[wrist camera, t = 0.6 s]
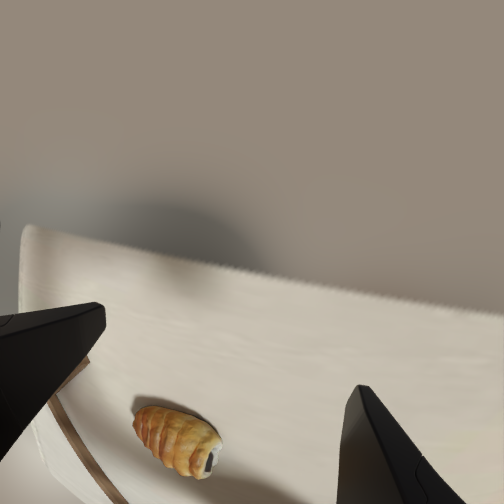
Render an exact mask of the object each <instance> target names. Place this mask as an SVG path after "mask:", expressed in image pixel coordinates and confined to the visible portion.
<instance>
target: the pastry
mask: <svg viewBox="0 0 504 504" xmlns="http://www.w3.org/2000/svg"><path fill="white" fill-rule="evenodd" d="M132 426H133V428H134V429H135V431H136V434H137V436H138V437H139V438H140V439H141V440H142V441H143V443H144V446H145V447H147V448H148V449H150V450H151V451H152V453H153V456H154V457H156V458H159V459H161V460H162V462H163V464H164V465H165V466H166V467H168V468H175V470H176V471H177V472H178V473H179V475H181V476H194V477H195V478H196V479H204V478H207V477H209V476H210V475H211V474H212V470H213V466H215V465H216V464H217V462H218V456H219V455H218V452H219V451H220V450H221V449H222V445H223V442H222V440H221V438H220V436H219V435H218V434H217V433H216V432H215V431H214V429H213V428H212V427H211V426H210V425H209V424H207V423H206V422H205V421H202V420H199V419H197V418H195V417H194V416H193V415H189V414H186V413H182V412H179V411H176V410H171V409H167V408H163V407H159V406H147V407H144V408H141V409H140V410H139V411H138V412H137V413H136V415H135V420H134V421H133V425H132Z"/></svg>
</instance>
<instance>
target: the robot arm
mask: <svg viewBox="0 0 504 504" xmlns="http://www.w3.org/2000/svg"><path fill="white" fill-rule="evenodd" d="M105 328H106V313H105V307H104V306H103V305H101V304H99V303H97V302H91V303H84V304H78V305H72V306H66V307H59V308H53V309H46V310H40V311H33V312H26V313H19V314H15V315H14V314H12V315H5V316H0V462H1V460H2V459H3V457H4V456H5V455H6V453H7V452H8V451H9V449H10V448H11V447H12V445H13V444H14V443H15V442H16V440H17V439H18V438H19V436H20V435H21V434H22V432H23V430H25V428H26V427H27V426H28V424H29V423H30V422H31V421H32V420H33V418H34V417H35V416H36V415H37V413H38V412H39V411H40V410H41V409H42V407H43V406H44V405H45V404H46V403H47V401H48V400H49V399H50V398H51V397H52V395H53V394H54V393H55V392H56V391H57V389H58V388H59V387H60V386H61V385H62V384H63V382H64V381H65V380H66V379H67V378H68V377H69V375H70V374H71V373H72V372H73V371H74V370H75V368H76V367H77V366H78V365H79V364H80V363H81V362H82V360H83V359H84V358H85V357H86V355H87V354H88V353H89V351H90V350H91V348H92V347H93V346H94V344H95V343H96V341H97V340H98V339H99V337H100V336H101V335H102V333H103V332H104V330H105ZM336 504H466V503H465V502H464V501H463V500H462V499H461V498H460V497H459V496H458V495H457V494H456V493H455V492H454V491H453V490H452V488H451V487H450V486H449V485H448V484H447V483H446V482H445V481H444V480H443V479H442V478H441V477H440V476H439V474H438V473H437V472H436V471H435V470H434V468H433V467H432V466H431V465H430V464H429V462H428V461H427V460H426V458H425V457H424V456H422V453H421V452H420V451H419V449H418V448H417V447H416V446H415V444H414V443H413V442H412V440H411V439H410V438H409V436H408V435H407V434H406V433H405V431H404V430H403V429H402V427H401V426H400V425H399V424H398V422H397V421H396V420H395V418H394V417H393V416H392V415H391V413H390V412H389V411H388V409H387V408H386V407H385V406H384V404H383V403H382V402H381V400H380V399H379V398H378V397H377V395H376V394H375V393H374V392H373V390H372V389H371V388H370V387H369V386H365V385H357V386H356V387H355V389H354V390H353V392H352V394H351V396H350V398H349V399H348V401H347V404H346V407H345V415H344V422H343V429H342V435H341V442H340V454H339V475H338V490H337V502H336Z"/></svg>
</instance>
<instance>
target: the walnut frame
mask: <svg viewBox="0 0 504 504" xmlns="http://www.w3.org/2000/svg"><path fill="white" fill-rule="evenodd" d="M89 363H90V361H89V359H88V357H87V355H86V357H85V358H84V359H83V360H82V362H81V363H80V364H79V365H78V366H77V367H76V368H75V370H74V371H73V372H72V373H71V374H70V375H69V377H68V378H67V379H66V380H65V381H64V382H63V384H62V385H61V386H60V387H59V388H58V389H57V391H56V392H55V393H54V394H53V395H52V397H51V398H50V399H49V400H48V401H47V404H48V406H49V408H50V410H51V411H52V413H53V415H54V417H55V419H56V421H57V423H58V424H59V426H60V428H61V430H62V431H63V433H64V435H65V436H66V438H67V440H68V441H69V443H70V445H71V446H72V448H73V449H74V451H75V453H76V454H77V456H78V457H79V459H80V460H81V462H82V463H83V464H84V466H85V467H86V469H87V470H88V472H89V473H90V474H91V476H92V477H93V478H94V480H95V481H96V482H97V484H98V485H99V486H100V488H101V489H102V490H103V491H104V493H105V494H106V495H107V496H108V497H109V499H110V500H111V501H112V502H113V503H114V504H129V503H128V502H127V501H126V500H125V499H124V497H123V496H122V495H121V494H120V493H119V491H118V490H117V489H116V488H115V487H114V485H113V484H112V483H111V481H110V480H109V479H108V478H107V476H106V475H105V474H104V472H103V471H102V470H101V468H100V467H99V465H98V464H97V463H96V461H95V460H94V458H93V457H92V455H91V454H90V452H89V451H88V449H87V448H86V446H85V445H84V443H83V442H82V440H81V439H80V437H79V435H78V434H77V432H76V430H75V429H74V427H73V425H72V424H71V422H70V420H69V418H68V417H67V415H66V413H65V411H64V409H63V407H62V406H61V404H60V402H59V400H58V398H57V396H56V393H58V392H59V391H60V390H61V389H62V388H63V387H64V386H65V385H66V384H67V383H68V382H69V381H71V380H72V379H73V378H74V377H75V376H76V375H77V374H78V373H79V372H80V371H82V370H83V369H84V368H85V367H86V366H87V365H88V364H89Z"/></svg>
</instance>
